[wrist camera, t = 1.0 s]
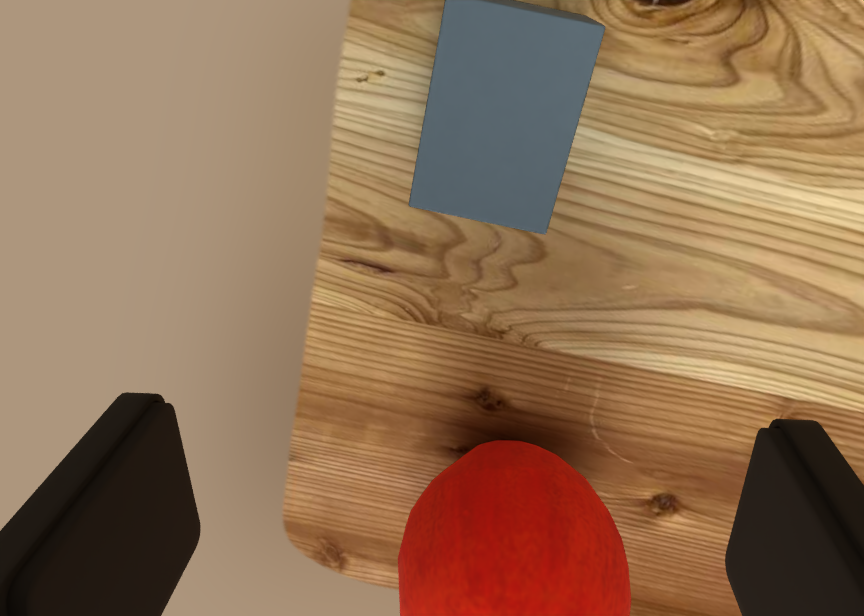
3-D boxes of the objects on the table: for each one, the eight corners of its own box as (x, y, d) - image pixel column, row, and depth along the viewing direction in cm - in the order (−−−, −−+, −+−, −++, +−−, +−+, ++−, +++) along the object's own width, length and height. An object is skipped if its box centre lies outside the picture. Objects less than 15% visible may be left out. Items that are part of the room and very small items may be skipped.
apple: (577, 557, 37) (612, 803, 26) (401, 526, 37) (363, 759, 26) (630, 412, 32) (699, 639, 21) (428, 377, 32) (395, 585, 21)
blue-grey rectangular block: (538, 196, 28) (546, 235, 24) (420, 171, 28) (407, 206, 24) (587, 15, 24) (606, 26, 20) (454, -13, 24) (446, -8, 20)
